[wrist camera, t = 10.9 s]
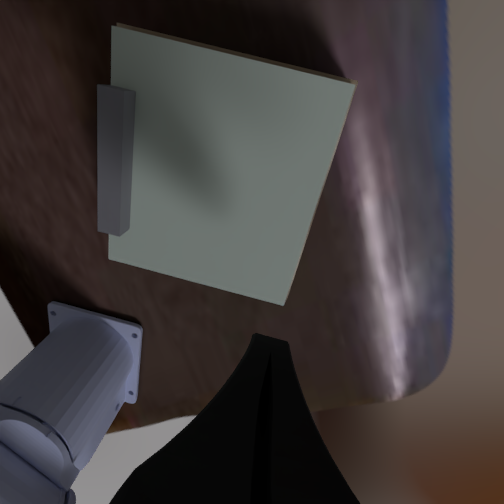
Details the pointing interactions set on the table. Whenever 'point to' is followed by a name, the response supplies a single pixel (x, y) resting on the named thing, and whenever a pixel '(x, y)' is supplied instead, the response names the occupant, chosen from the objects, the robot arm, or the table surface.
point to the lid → (212, 162)
